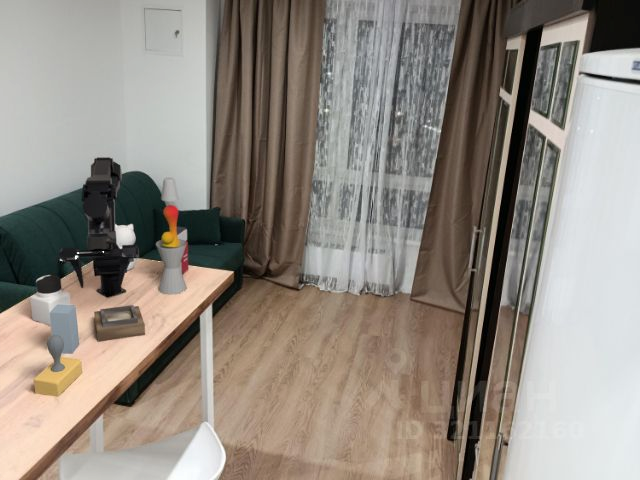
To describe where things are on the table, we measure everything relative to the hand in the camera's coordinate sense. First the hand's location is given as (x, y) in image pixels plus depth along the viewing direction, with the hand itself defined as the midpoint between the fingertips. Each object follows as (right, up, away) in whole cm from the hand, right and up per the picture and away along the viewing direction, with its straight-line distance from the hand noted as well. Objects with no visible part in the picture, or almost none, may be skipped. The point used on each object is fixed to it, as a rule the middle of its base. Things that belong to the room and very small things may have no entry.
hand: (101, 286), depth 152 cm
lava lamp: (+10, -3, +33) cm, 34 cm away
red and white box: (+9, 0, +43) cm, 44 cm away
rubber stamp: (-3, -21, -17) cm, 27 cm away
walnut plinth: (+2, -12, +8) cm, 14 cm away
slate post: (-7, -15, -4) cm, 17 cm away
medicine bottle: (-17, -10, +11) cm, 23 cm away
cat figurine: (-10, +2, +46) cm, 47 cm away
